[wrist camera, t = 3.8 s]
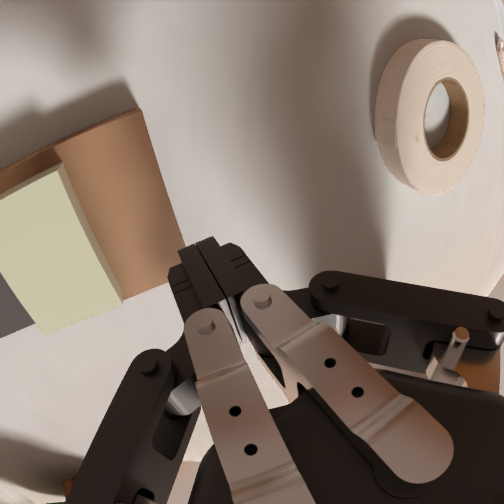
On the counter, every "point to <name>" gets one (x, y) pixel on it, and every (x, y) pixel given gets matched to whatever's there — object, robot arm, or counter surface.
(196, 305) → the robot arm
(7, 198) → the tile
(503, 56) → the marker
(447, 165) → the roll of tape
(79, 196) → the board
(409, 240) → the counter surface
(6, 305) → the mat
